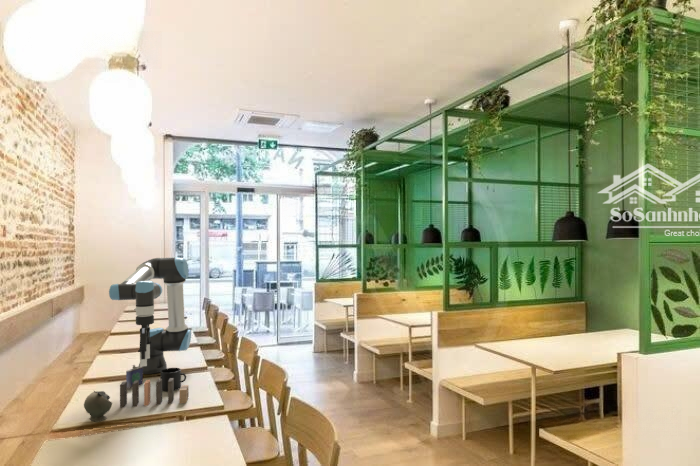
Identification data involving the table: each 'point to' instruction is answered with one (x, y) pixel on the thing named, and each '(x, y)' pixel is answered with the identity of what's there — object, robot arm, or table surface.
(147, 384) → the domino
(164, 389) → the mug
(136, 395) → the domino
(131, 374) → the flask
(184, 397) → the bookend
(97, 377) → the table surface
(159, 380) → the domino
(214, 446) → the table surface
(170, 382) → the domino
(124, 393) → the domino
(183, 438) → the table surface
